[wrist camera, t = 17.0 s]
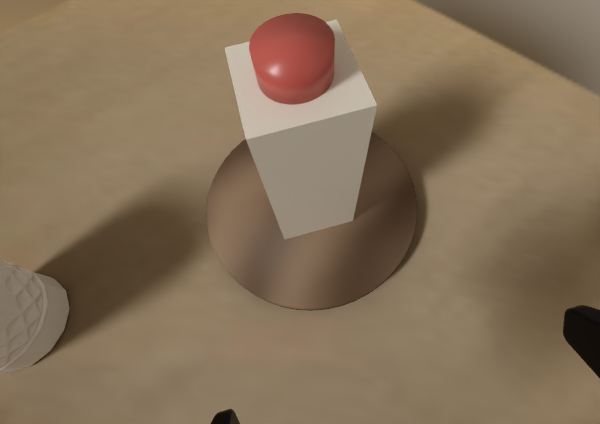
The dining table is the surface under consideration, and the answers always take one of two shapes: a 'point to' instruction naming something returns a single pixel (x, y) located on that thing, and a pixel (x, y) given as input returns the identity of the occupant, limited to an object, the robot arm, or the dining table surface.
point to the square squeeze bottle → (304, 119)
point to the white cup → (28, 316)
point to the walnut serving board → (312, 234)
